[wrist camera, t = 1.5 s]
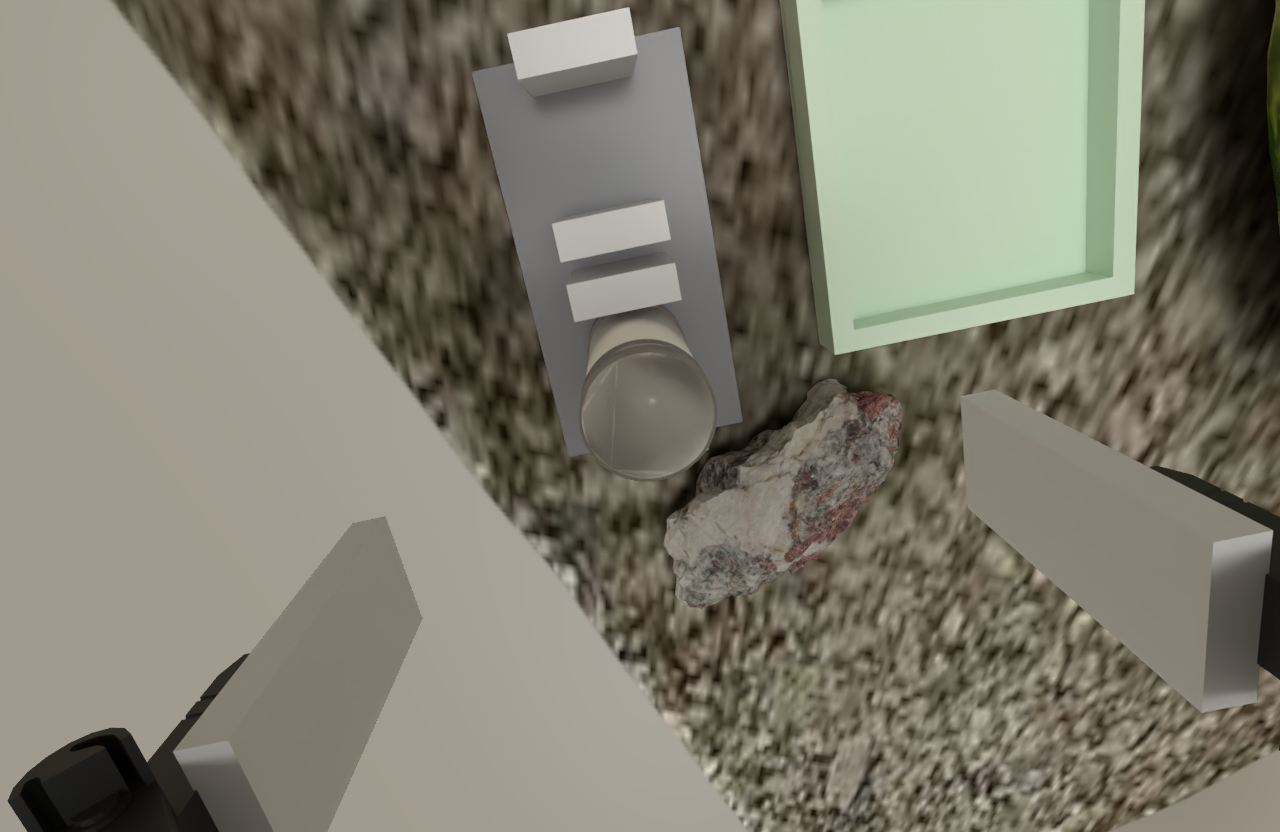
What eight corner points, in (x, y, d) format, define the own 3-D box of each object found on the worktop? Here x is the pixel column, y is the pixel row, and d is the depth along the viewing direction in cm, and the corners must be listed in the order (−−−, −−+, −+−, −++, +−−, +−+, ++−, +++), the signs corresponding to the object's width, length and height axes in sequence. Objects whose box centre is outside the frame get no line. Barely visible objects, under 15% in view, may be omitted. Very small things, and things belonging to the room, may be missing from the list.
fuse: (578, 307, 32) (564, 365, 22) (674, 288, 32) (705, 336, 22) (599, 398, 34) (595, 493, 23) (690, 380, 34) (727, 466, 23)
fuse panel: (474, 73, 30) (444, 47, 24) (677, 29, 29) (693, -8, 24) (569, 451, 35) (562, 499, 30) (740, 416, 35) (764, 459, 30)
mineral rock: (698, 608, 39) (709, 658, 35) (617, 507, 37) (618, 548, 32) (924, 466, 37) (965, 502, 33) (852, 350, 35) (887, 372, 30)
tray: (777, -18, 29) (792, -36, 27) (1104, -89, 29) (1149, -114, 26) (819, 343, 34) (834, 355, 32) (1097, 286, 34) (1133, 294, 31)
